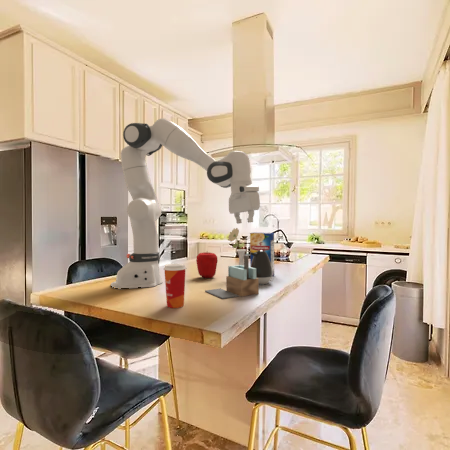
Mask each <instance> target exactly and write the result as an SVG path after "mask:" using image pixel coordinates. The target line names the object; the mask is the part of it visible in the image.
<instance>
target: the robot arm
mask: <svg viewBox="0 0 450 450" xmlns="http://www.w3.org/2000/svg"><path fill="white" fill-rule="evenodd" d="M122 133H123V134H122V136H123V140H124V142H125V143H126V144H127V146H125V147H124V148H122V149H121V152H120V162H121V163H120V164H121V168H122V172H123V177H124V181H125V185H126V189H127V191H128V193H129V194H130V197H131V198H132V200H131V201H130V202H129V203H128V205H127V208H126V213H127V215H128V217H129V221H130V226H131V229H132V230H131V231H132V238H133V239H132V241H133V243H132V244H133V253H131V254H130V253H126V258H127V259H128V262H127V263H126V264H125V265H123V266H122V268H120V269H119V270H118V271H117V273H116V277H115V278H116V279H115V281H113V282H111V283H110V286H112V287H111V288H113V287H115V288H119V289H118V290H122V289H121V288H129V289H138V287H141V288H153V287H156V286H157V285H161V284H162V283H163V280H162V276H161V271H160V252H159V234H158V232H157V227H156V221H157V220H158V219H159V218H160V217H161V215H162V208H161V205H160V203H159V200H158V197H157V195H156V192H155V190H154V187H153V184H152V182H151V177H150V176H151V175H150V173H149V168H148V165H147V162H146V156H148V157H149V156H151V155H153V154H154V153H156V152H158V151H160V150H161V149H162V147H164V148H165V149H166V150H168V151H169V152H171V153H173V154H174V155H176V156H177V157H181V158H183V159H184V160H185V159H186V160H188V161H190V162H193V163H195V164H196V165H198V166H200V168H202V169H204V170H205V171H206V176H207V178H208V181H210V182H211V183H213V184H215V185H218V186H219V187H221V188H224V189H227V188H230V196H229V197H228V211H229V214H231V215H232V214H234V215H233V216H234V218H235V221H236V224H238V225H239V224H242V220H243V219H241V213H246V212H247V214H248V217H247V219H246V220H247V222H248V224H249V223H253V222H254V215H255V211H258V210H260V207H261V202H260V194H259V192H260V187H259V185H255V184H253V183H252V179H251V162H250V157H249V156H248V154H247V153H246V152H245V151H241V150H231V151H229V152H228V153H227V155H226V156H223V157H222V158H220V159H218V160H216V159H215V158H213V157H212V156H211V155H209V154H208V153H206V152H205V151H204V150H203V148H201V147H200V145H199V144H198V143H197V142H196V140H194V139H193V137H192V136H191V134H189V133H188V132H187V131H186V130H185V129H183V128H182V127H181V126H180V125H178V124H176V123H175V122H173V121H171V120H169V119H166V118H164V117H163V118H162V117H161V118H158V119H157V120H156V121H154V123H153V124H152V125H149V124H147V123H140V122H132V123H129V124H127V125H126V126H125V128H124V129H123V132H122ZM115 288H114V289H115Z"/></svg>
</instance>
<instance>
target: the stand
mask: <svg viewBox="0 0 450 450" xmlns="http://www.w3.org/2000/svg"><path fill="white" fill-rule="evenodd" d="M249 261H250V259H249V255H247V254H246V255H245V254H244V269H246V270H247V280H241V279H237V278H234V277H230V276H228V275H227V276H226V282H225V283H226V291H228V292H231V293H234V294H237V295H239V297H246V296H251V295H252V296H253V295H259V285H260V284H258V278H256V279H251V278H249V267H250V265H249Z"/></svg>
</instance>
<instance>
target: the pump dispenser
mask: <svg viewBox="0 0 450 450" xmlns="http://www.w3.org/2000/svg"><path fill="white" fill-rule="evenodd" d="M249 254H251V255H253V256H254V257H253V260H252V263H251V267H252V268H256V278H258V285H267V284H268V283H270V282H271V280H272V277H273V276H272V267H271V263H270V260H269V257H268V255H267V253H266V252H265V251H263V250H258V251H257V252H256V253H253V252H251V253H249Z"/></svg>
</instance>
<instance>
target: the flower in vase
mask: <svg viewBox="0 0 450 450" xmlns="http://www.w3.org/2000/svg"><path fill="white" fill-rule="evenodd" d="M239 233H240V229H239V228H238V227H236V228H233V229H232V230H231V231H230V232H229V234H228V236H227V238H228V239H227V241H229V242H230V243H231V242H233V241H235V240H236V242H237V243H234V244H233V245H232V246H231V247H232V248H233V249H236V253H237V254H238V261H239V262H238V265H243V266H244V255H245V253H246V252H247V249H241V248H243V247H245V242H244V241H243V242H242V243H239V240H238V236H239ZM237 247H238V248H239V249H237Z"/></svg>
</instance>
